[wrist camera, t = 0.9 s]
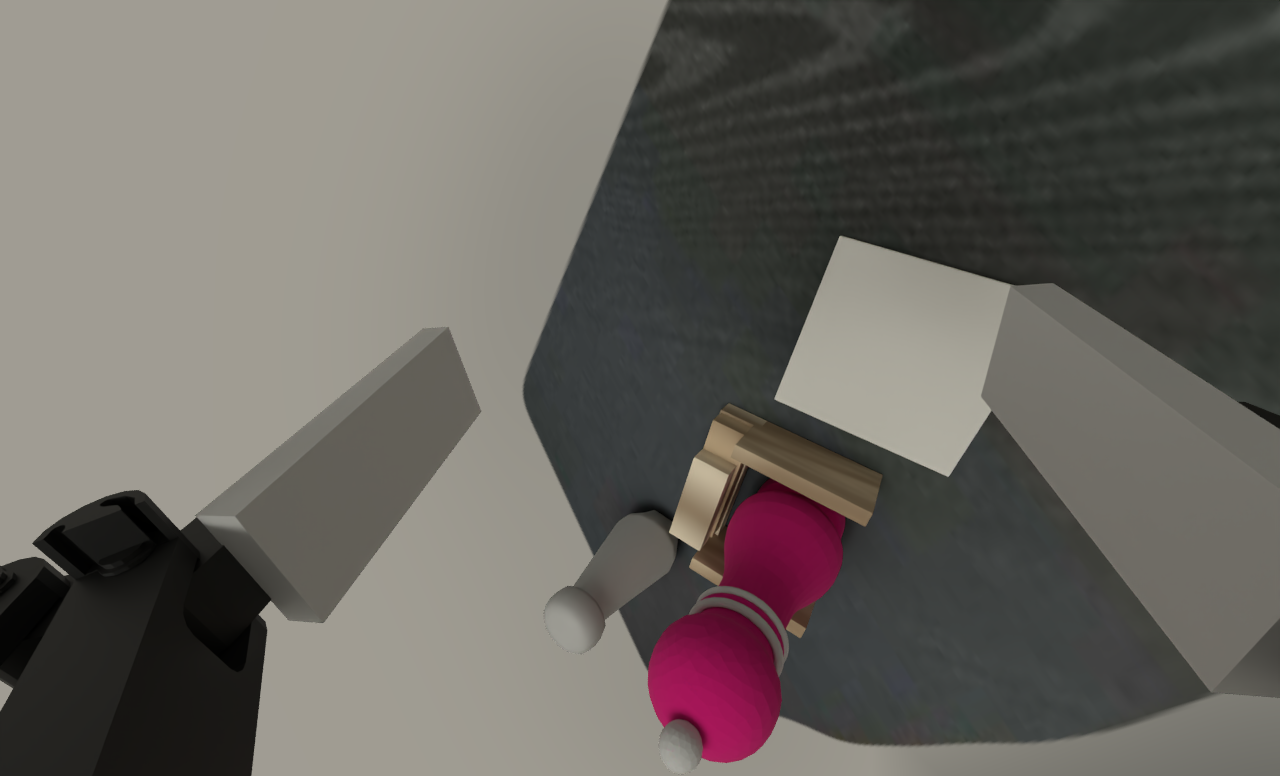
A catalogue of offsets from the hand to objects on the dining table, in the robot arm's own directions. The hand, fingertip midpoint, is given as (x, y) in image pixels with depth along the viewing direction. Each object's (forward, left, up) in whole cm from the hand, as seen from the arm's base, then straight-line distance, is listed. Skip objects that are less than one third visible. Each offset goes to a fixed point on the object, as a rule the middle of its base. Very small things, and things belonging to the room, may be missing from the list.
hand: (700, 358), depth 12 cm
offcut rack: (+16, +1, -21) cm, 26 cm away
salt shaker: (+25, -6, -21) cm, 34 cm away
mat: (+3, +4, -21) cm, 22 cm away
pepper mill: (+16, +3, -21) cm, 27 cm away
